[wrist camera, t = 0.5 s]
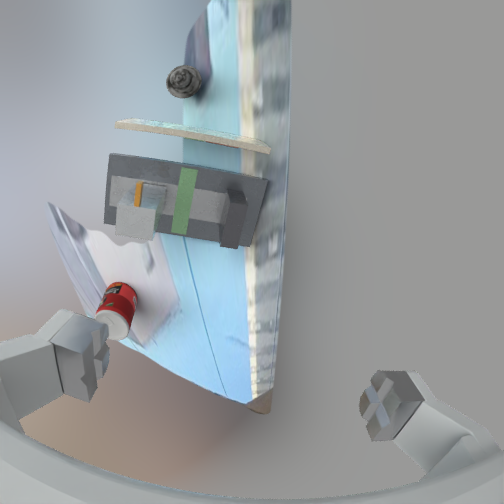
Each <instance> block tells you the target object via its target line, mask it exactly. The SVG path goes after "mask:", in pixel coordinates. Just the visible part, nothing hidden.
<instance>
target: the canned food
mask: <svg viewBox="0 0 504 504" xmlns="http://www.w3.org/2000/svg"><path fill="white" fill-rule="evenodd" d="M136 304H137V296H136V293H135V291H134V290H133V289H132V288H131V287H130V286H129V285H127V284H125V283H122V282H115V283H113V284H111V285H110V286H109V287H108V288H107V290H106V292H105V294H104V296H103V298H102V301H101V303H100V305H99V307H98V310H97V312H96V315H95V318H94V319H95V320H98V321H101V322H104V323H107V325H108V326H109V337H108V339H111V340H122V339H124V338H126V337H127V335H128V333H129V330H130V327H131V323H132V319H133V315H134V312H135V308H136Z"/></svg>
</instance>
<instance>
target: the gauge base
mask: <svg viewBox="0 0 504 504" xmlns="http://www.w3.org/2000/svg"><path fill="white" fill-rule="evenodd" d="M115 128H119V129H128V130H136V131H145V132H152V133H159V134H166V135H173V136H179V137H185V138H186V139H192V140H198V141H203V142H204V141H206V142H209V143H214V144H219V145H224V146H229V147H234V148H243V149H248V150H252V151H257V152H261V153H265V154H270V151H271V148H270V147H269V146H268V145H266V144H265V143H264V142H262V141H261V140H257V139H252V138H248V137H243V136H239V135H234V134H229V133H224V132H219V131H214V130H209V129H203V128H198V127H192V126H186V125H180V124H173V123H166V122H159V121H152V120H144V119H135V118H131V119H125V120H121V121H116V122H115ZM138 181H144V184H150V185H156V186H163V187H167V190H166V197H165V204H164V211H163V214H162V217H161V219H160V222H159V224H158V227H157V230H156V232H161V233H167V234H173V235H179V236H186V237H192V238H198V239H204V240H210V241H216V242H220V247H226V248H233V249H237V248H238V245H241V246H247V247H250V245H251V241H252V237H253V234H254V230H255V226H256V223H257V219H258V215H259V212H260V208H261V204H262V201H263V197H264V193H265V190H266V186H267V182H268V180H267V179H263V178H259V177H254V176H249V175H244V174H239V173H234V172H229V171H224V170H219V169H214V168H208V167H203V166H197V165H191V164H185V163H179V162H173V161H167V160H160V159H153V158H146V157H139V156H131V155H123V154H116V153H111V154H110V155H109V164H108V173H107V184H106V197H105V213H104V214H105V215H104V223H105V224H111V225H116V213H117V203H118V202H119V201H120V200H121V199H122V198H123V196H124V195H125V194H126V193H127V192H128V191H129V189H130V188H131V187H132V186H133V185H134V184H135V183H137V182H138Z"/></svg>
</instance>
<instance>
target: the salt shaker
mask: <svg viewBox="0 0 504 504" xmlns="http://www.w3.org/2000/svg"><path fill="white" fill-rule="evenodd" d="M201 81H202V79H201V75H200V73H199V72H198V70H197V69H195V68H194V67H192V66H188V65H183V66H178V67H176V68H174V69H173V70H172V71H171V72H170V73H169V75H168V77H167V80H166V85H167V89H168V91H169V92H170V93H171V94H172V95H173V96H175V97H178V98H188V97H191V96H193V95H194V94H195V93H196V92H197V91H198V90H199V89H200V86H201Z"/></svg>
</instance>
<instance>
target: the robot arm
mask: <svg viewBox="0 0 504 504" xmlns="http://www.w3.org/2000/svg"><path fill="white" fill-rule="evenodd" d="M108 337H109V326H108V325H107V323H104V322H101V321H98V320H95V319H92V318H89V317H86V316H83V315H81V314H77V313H75V312H72V311H69V310H66V309H60V310H59V311H58V312H57V313H56V314H55V315H54V316H53V317H52V318H51V319H50V320H49V321H48V322H47V323H46V324H45V325H44V326H43V327H42V328H41V329H40V330H39V331H38V332H37V333H36V334H35V335H34V336H33V335H31V334H28V335H24V336H21V337H17V338H13V339H9V340H6V341H2V342H0V504H504V450H503V451H502V450H501V449H500V447H499V446H498V444H497V443H496V441H495V440H494V438H493V437H492V435H491V434H490V433H489V431H488V430H487V429H486V428H485V427H483V426H481V425H480V424H478V423H477V422H475V421H473V420H472V419H470V418H468V417H467V416H465V415H463V414H462V413H460V412H459V411H457V410H456V409H454V408H452V407H451V406H449V405H447V404H446V403H444V402H443V401H441V400H437V399H436V398H435V397H434V395H433V393H432V392H431V390H430V389H429V388H428V386H427V385H426V383H425V382H424V380H423V379H422V378H421V376H420V375H419V374H418V372H416V371H380V370H378V371H377V372H376V373H375V374H374V375H373V377H372V378H371V386H370V387H368V388H367V389H365V390H364V392H363V394H362V396H361V398H360V403H359V409H360V413H361V416H362V417H363V418H364V419H365V420H367V421H368V423H367V425H366V428H367V431H368V433H369V435H370V438H371V440H372V441H386V440H393V442H394V443H395V444H396V445H397V446H398V447H399V448H400V449H401V450H402V451H404V452H405V453H406V454H407V455H408V456H409V457H410V458H411V459H412V460H413V461H414V462H415V463H416V464H417V465H418V466H419V467H420V468H421V469H423V470H424V471H425V472H426V473H427V474H426V475H425V476H424V477H423V478H422V479H421V480H419V482H415V483H411V484H407V485H403V486H399V487H394V488H390V489H384V490H379V491H374V492H367V493H361V494H354V495H346V496H336V497H327V498H310V499H254V498H239V497H227V496H218V495H210V494H202V493H196V492H190V491H185V490H179V489H174V488H169V487H164V486H160V485H156V484H152V483H148V482H144V481H140V480H136V479H133V478H129V477H126V476H123V475H119V474H116V473H113V472H110V471H107V470H104V469H101V468H99V467H96V466H93V465H90V464H88V463H85V462H83V461H80V460H78V459H75V458H73V457H70V456H68V455H66V454H64V453H61V452H59V451H57V450H55V449H53V448H50V447H49V446H46V445H44V444H42V443H40V442H38V441H36V440H35V439H33V438H31V437H29V436H27V435H25V432H24V430H23V428H22V426H21V424H20V422H19V419H21V418H23V417H25V416H26V415H28V414H30V413H32V412H34V411H35V410H37V409H39V408H41V407H43V406H44V405H46V404H48V403H50V402H51V401H53V400H55V399H57V398H58V397H60V396H62V395H63V393H64V394H66V395H69V396H72V397H74V398H77V399H80V400H83V401H86V402H90V400H91V399H92V397H93V395H94V393H95V391H96V389H97V388H98V387H97V380H98V379H100V378H103V376H104V374H105V372H106V370H107V367H108V363H109V355H110V353H109V347H108V345H107V344H106V342H105V341H106V340H107V338H108Z"/></svg>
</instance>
